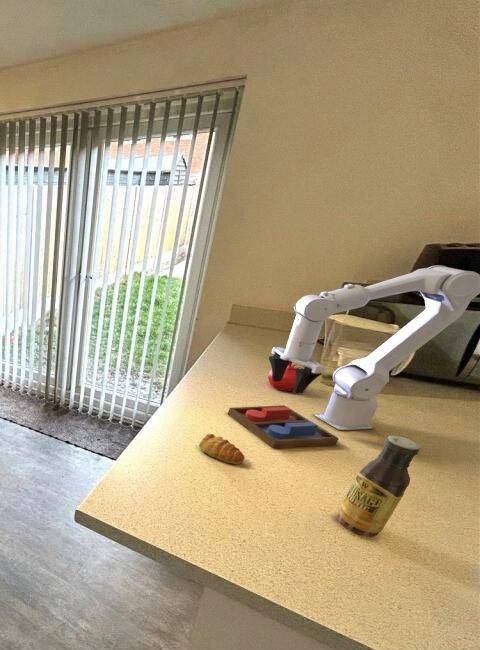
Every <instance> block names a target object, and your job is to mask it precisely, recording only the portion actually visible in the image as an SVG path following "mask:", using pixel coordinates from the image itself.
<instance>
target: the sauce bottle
mask: <svg viewBox="0 0 480 650" xmlns="http://www.w3.org/2000/svg"><path fill="white" fill-rule="evenodd" d="M383 443H384V446H383V447H382V449H381V452H380V453H379V454H378V456H377V457H376V458H375V459H373V460H371V461H369V462H368V463H367V464H365V466H363V468H362V469H361V470H359V472H358V473H357V474H356V476H355V479H354V481H353V482H352V484H351V486H350V488H349V490H348V492H347V494H346V496H345V497H344V499H343V502H342V503H341V505H340V507H339V509H338V513H337V516H336V519H337V521H338V523H339V524H340V525H341V527H343V528H344V529H346V530H348V531H349V532H351V533H353V534H355V535H357V536H360V537H367V538H374V537H377V536H378V535H379V534H380V533H381V532H382V531H383V530H384V529H385V527H386V525H387V523H388V522H389V520H390V518H391V517H392V515H393V513H394V512H395V510H396V508H397V507H398V505H399V503H400V502H401V500H402V498H404V495H405V492H406V490H407V489H408V487H409V486H410V483H411V477H410V474H409V470H408V469H409V467H410V466H411V465H410V464H411V462H412V461H413V459H414V457H415V456H417V455H418V454H419V452H420V450H421V445H420V444H419V443H417V442H416V441H414V440H412V439H409V438H407V437H404V436H398V435H389V436H387V438H386V439H385V441H384V442H383Z"/></svg>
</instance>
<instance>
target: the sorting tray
mask: <svg viewBox="0 0 480 650" xmlns="http://www.w3.org/2000/svg"><path fill="white" fill-rule="evenodd" d="M269 407H287V406H286V405H284V404H282V405H281V404H280V405H263V406H261V405H260V406H238V407H237V406H236V407H229V408H228V412H227V415H229V416H230V417H231V418H232V419H233V420H235V421H237V422H238V423H239V424H240V425H242V426H243V427H244V428H246V429H247V430H248V431H249V432H251V433H252V434H254V435H255V436H256V437H257V438H258V439H260V440H261V441H263V442H264V443H265V444H267V445H268V446H269V447H270V448H272V449H284V448H287V449H288V448H305V447H306V448H307V447H324V446H325V447H327V446H337V444H338V441H339V440H340V439H339V437H337V436H336V435H334V434H333V433H331V432H329V431H328V430H326V429H325V428H323V427H321V426H319V425H318V427H317V429H316V432H315V435H308V436H288V438H287V439H276V438H273V437H272V436H270V435H269V434H268V433H267V431H268V428H269V426H270V425H279V426H282V427H285V424H286V423H300V422H312V421H311V420H309V419H308V418H306V417H304V416H303V415H301V414H299V413H298V412H297V411H294V410H293V409H292V411H291V414H290V417H289V419H275V420H264V422H252V421H250V420H248V419H247V418H246V417H245V416H246V413H247V410H258V411H262V408H269Z"/></svg>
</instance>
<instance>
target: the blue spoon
mask: <svg viewBox="0 0 480 650" xmlns="http://www.w3.org/2000/svg"><path fill="white" fill-rule="evenodd" d="M318 426H319V425H318V424H316V423H315V422H313V421H311V422H300V423H286V424H285V427H282V426H279V425H270V426H269V428H268V431H267V433H268V434H269V435H270V436H272V437H273V438H276V439H287V438H288V436H308V435H315V432H316V429H317V427H318Z"/></svg>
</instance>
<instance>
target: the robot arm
mask: <svg viewBox="0 0 480 650" xmlns="http://www.w3.org/2000/svg"><path fill="white" fill-rule="evenodd" d="M409 292H420V294H421V296H422V298H423V299H424V304H425V309H424V310H423V311H421V312H420V313H419V314H418V315H417V316H416V317H414V318H413V319H411V321H409V322H408V323H406V325H404V326H403V327H402V328H401V329H400V330H398V331H397V332H396V333H394V335H392V336H391V337H390V338H388V339H387V340H386V341H385V342H384V343H382V344H381V345H379V346H378V348H376V349H374V351H372V352H371V353H370V354H369V355H368V356H366V357H363V358H358V359H357V358H356V359H353V360H352V361H351V362H350V363H348V364H346V365H343V366H342V365H341V366H340V367H338V368H337V369H336V370H335V371H334V372H333V374H332V380H333V382H334V388H333V391H332V392H331V396H330V399H329V401H328V403H327V406H326V409H325V411H324V413H315V414H314V417H316V418H318V419H319V420H321V421H323V422H324V423H326V424H328V425H330V426H331V427H333V428H334V429H336V430H338V431H350V430H351V431H352V430H353V431H354V430H371V429H373V426H372V425H371V423H372V420H373V418H374V416H375V414H376V412H377V409H378V407H379V404H378V403H379V402H378V400H377V398H376V397H377V396H378V395H379V394H380V393H381V391H382V389H383V388H384V387H385V386H386V385H388V383H389V382H390V371H392V370H393V369H394V368H395V367H397V366H398V365H399V364H401V363H402V362H403V361H404V360H406V359H407V358H408V357H410V356H411V355H412V354H413V353H415V352H417V350H419V349H421V347H423V346H424V345H425V344H427V343H428V342H429V341H431V340H432V339H433V338H435V337H436V336H437V335H439V334H440V333H441V332H442V331H444V330H445V329H446V328H448V327H449V326H451V324H453V323H454V322H455V321H457V320H458V319H459V318H460V317H462V315H463V314H464V313H465V311H466V309H467V308H468V306H469V304H470V303H471V301H472V300H473V299H475V298H476V297H477V296H478V295H480V274H479V273H478V272H476V271H471V270H462V269H459V268H458V269H457V268H453V267H448V266H446V265H441V264H440V265H439V264H438V265H432V266H429V267H424V268H418V269H416V270H414V271H412V272H410V273H406V274H403V275H400V276H397V277H393V278H390V279H386V280H383V281H381V282H377V283H373V284H371V285H367V286H362V285H361V284H352V283H348V284H344V286H343V287H342V288H339V289H335V290H332V291H322V292H320V294H319V295H317V294H307V295H304V296H302V297H301V298H300V299H299V300H298V301H297V302H296V303H294V306H293V309H294V312H295V314H296V315H295V319H294V321H293V324H292V326H291V327H292V328H291V330H290V334H289V336H288V340H287V343H286V347H285V348H284V347H281V346H273V347H272V350H271V356H270V355H269V357H268V360H269V363H270V366H271V370H272V381H281V380H282V378H283V376H284V373H285V371H286V369H287V367H288V365H289V364H290V362H293V363H292V364H295V365H297V366H299V367H301V368H303V369H301V368H299V369H296V383H295V387H294V391H293V393H294V394H304V392H305V391H306V389H307V388H308V387H309V386H310V385H311V384H312V383H313V382H314V381H315V380H316V379H317V378H318V377H320V376H322V374H323V371H324V368H325V366H324V365H322V364H321V363H319V362H317V361H316V360H315V359H314V358H312V356H313V353H314V350H315V347H316V345H317V341H318V339H319V336H320V333H321V330H322V327H323V325H324V321H326V320H328V319H329V318H330V317H332V315H335V314H340V313H343V312H347V311H351V310H355V309H359V308H363V307H365V306H366V305H367V304H368V303H369V302H370V301H372V300H376V299H381V298H385V297H386V298H387V297H390V296H394V295H400V294H405V293H409Z"/></svg>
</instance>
